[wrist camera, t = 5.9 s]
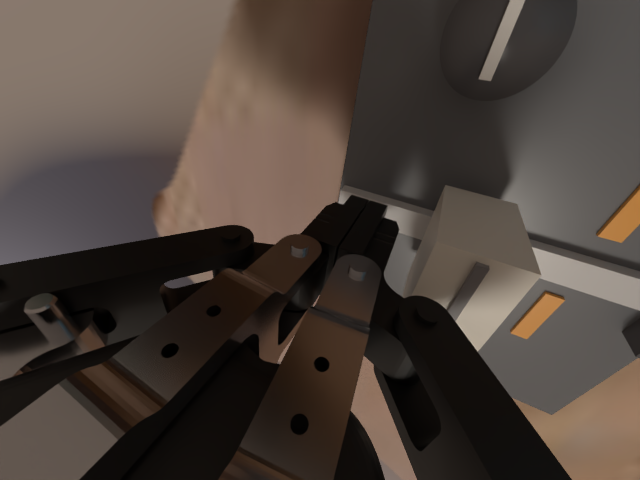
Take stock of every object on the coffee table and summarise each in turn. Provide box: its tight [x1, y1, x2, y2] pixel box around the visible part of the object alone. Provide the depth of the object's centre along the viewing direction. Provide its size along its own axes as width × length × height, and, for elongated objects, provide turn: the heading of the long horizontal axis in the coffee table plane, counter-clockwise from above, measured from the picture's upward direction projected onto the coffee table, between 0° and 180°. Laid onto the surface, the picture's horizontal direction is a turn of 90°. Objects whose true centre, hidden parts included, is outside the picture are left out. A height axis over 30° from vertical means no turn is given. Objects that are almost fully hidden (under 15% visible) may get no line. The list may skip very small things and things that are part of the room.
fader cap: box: [402, 185, 541, 352], centre depth 9 cm, size 4×2×4 cm, turn 173°
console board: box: [338, 0, 640, 415], centre depth 11 cm, size 18×14×4 cm
